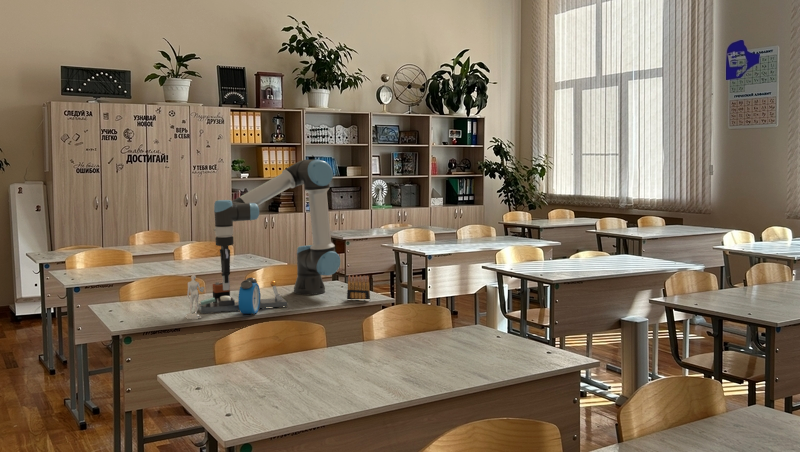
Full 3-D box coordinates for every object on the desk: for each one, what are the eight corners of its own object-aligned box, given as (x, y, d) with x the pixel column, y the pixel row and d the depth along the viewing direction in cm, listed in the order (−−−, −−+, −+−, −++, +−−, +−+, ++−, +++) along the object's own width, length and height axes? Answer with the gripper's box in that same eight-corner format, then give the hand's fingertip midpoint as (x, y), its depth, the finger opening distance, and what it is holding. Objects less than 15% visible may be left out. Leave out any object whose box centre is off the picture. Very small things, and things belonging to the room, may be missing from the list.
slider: (259, 298, 328) (259, 292, 328) (260, 299, 326) (260, 293, 326) (255, 299, 328) (255, 292, 327) (256, 300, 326) (256, 293, 325)
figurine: (205, 315, 309) (203, 272, 308) (206, 318, 303) (205, 275, 301) (184, 316, 307) (183, 274, 305) (185, 320, 300) (183, 276, 298)
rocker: (214, 300, 320) (214, 297, 319) (215, 301, 317) (215, 298, 316) (200, 303, 318) (200, 301, 317) (201, 305, 315) (201, 302, 314)
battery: (230, 303, 332) (230, 282, 331) (215, 305, 329) (215, 283, 327) (227, 302, 336) (226, 280, 335) (212, 303, 332) (212, 281, 331)
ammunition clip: (346, 300, 341) (346, 274, 339) (348, 299, 342) (348, 274, 341) (369, 301, 338) (369, 275, 337) (370, 300, 340) (370, 275, 339)
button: (230, 302, 323) (229, 295, 322) (231, 304, 319) (231, 297, 318) (219, 302, 321) (219, 296, 321) (221, 304, 317) (221, 298, 317)
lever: (279, 296, 330) (274, 279, 328) (280, 297, 327) (275, 280, 326) (274, 298, 329) (269, 281, 327) (275, 299, 326) (270, 282, 325)
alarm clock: (252, 317, 306) (251, 281, 304) (237, 317, 306) (237, 281, 305) (260, 310, 319) (260, 276, 317) (246, 310, 319) (246, 276, 318)
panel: (282, 303, 334) (282, 292, 333) (287, 307, 325) (287, 296, 325) (198, 309, 320) (198, 298, 320) (201, 313, 312) (200, 302, 311)
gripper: (213, 234, 321) (215, 287, 324) (217, 238, 309) (219, 293, 312) (230, 233, 324) (232, 286, 327) (235, 237, 312) (237, 292, 315)
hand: (226, 289), depth 319 cm, fingers closed
